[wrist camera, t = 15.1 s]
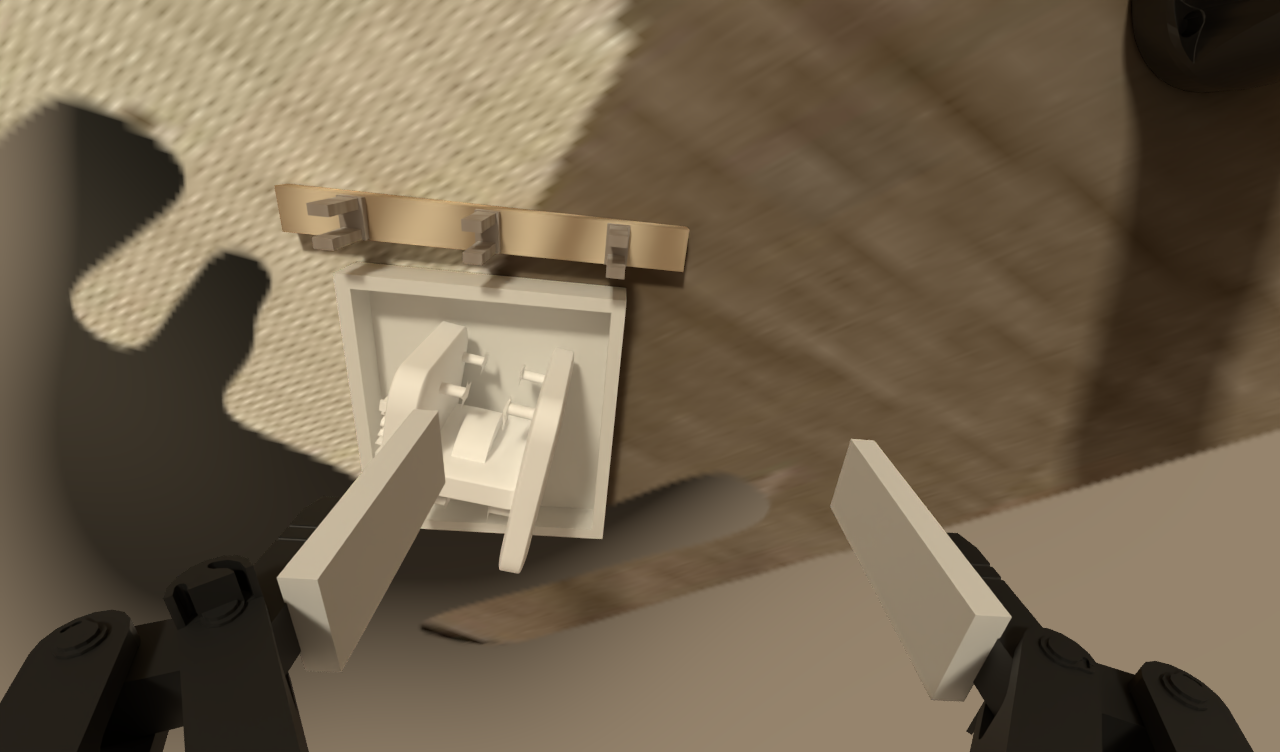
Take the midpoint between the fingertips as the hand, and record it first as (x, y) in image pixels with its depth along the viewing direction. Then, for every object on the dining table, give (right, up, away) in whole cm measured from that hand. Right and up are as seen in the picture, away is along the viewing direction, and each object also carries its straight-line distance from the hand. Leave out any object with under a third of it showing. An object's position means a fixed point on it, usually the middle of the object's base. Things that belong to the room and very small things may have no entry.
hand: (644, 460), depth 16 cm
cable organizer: (-12, 0, +26) cm, 29 cm away
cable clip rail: (-11, +13, +20) cm, 27 cm away
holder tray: (-12, 0, +27) cm, 29 cm away
